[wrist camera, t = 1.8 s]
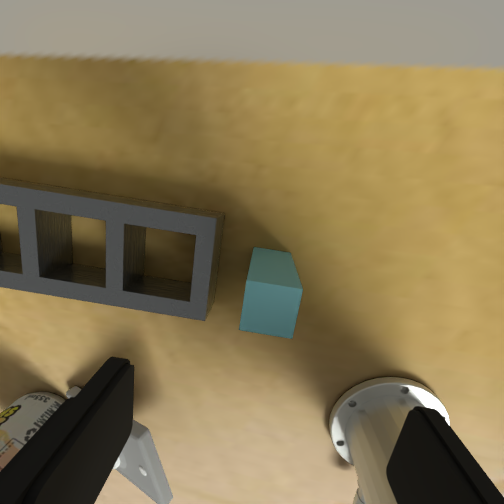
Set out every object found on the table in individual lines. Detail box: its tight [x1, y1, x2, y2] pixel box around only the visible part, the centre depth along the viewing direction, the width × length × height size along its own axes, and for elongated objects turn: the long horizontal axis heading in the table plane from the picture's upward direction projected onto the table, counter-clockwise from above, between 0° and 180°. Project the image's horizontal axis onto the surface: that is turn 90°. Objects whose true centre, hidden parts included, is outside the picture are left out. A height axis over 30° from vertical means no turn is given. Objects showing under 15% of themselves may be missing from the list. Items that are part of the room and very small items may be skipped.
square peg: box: [239, 247, 303, 339], centre depth 21 cm, size 4×4×9 cm
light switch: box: [66, 386, 173, 504], centre depth 28 cm, size 8×6×14 cm
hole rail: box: [0, 178, 225, 321], centre depth 24 cm, size 9×24×4 cm, turn 81°
